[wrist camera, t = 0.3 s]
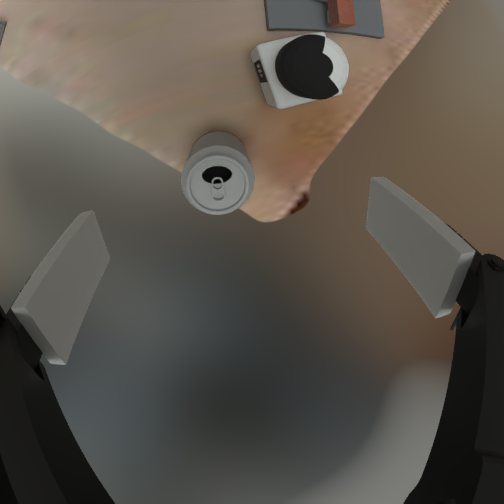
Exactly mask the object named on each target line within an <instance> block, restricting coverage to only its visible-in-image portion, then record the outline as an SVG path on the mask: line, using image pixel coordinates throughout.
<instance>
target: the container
mask: <svg viewBox="0 0 504 504" xmlns="http://www.w3.org/2000/svg"><path fill="white" fill-rule="evenodd" d="M250 56H251V59H252V62H253V65H254V67H255V70H256V73H257V76H258V79H259V82H260V85H261V87H262V90H263V93H264V96H265V99H266V102H267V104H268V105H270V106H272V107H275V108H278V109H284V108H288V107H292V106H295V105H299V104H303V103H307V102H311V101H315V100H320V99H327V98H330V97H333V96H338V95H341V94H342V93H343V90H342V88H343V87H344V86H345V84H346V82H347V79H348V75H349V65H348V61H347V58H346V55H345V54H344V52H343V50H342V49H341V48H340V47H339V46H338V45H337V44H336V43H335V42H334V41H332V40H331V39H329V38H327V37H326V34H325V33H324V32H316V33H309V34H304V35H298V36H293V37H288V38H283V39H278V40H274V41H270V42H265V43H261V44H258V45H257V46H256V47H255V48H254V49H253V51H252V52H251V53H250Z"/></svg>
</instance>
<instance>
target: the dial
mask: <svg viewBox="0 0 504 504" xmlns="http://www.w3.org/2000/svg"><path fill="white" fill-rule="evenodd" d="M315 1H318V2H321V3H325V4H328V11H329V20H330V27H335V28H344V29H346V28H349V27H351V26H354V25H356V23H355V14H354V6H353V0H315Z"/></svg>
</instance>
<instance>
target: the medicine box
mask: <svg viewBox="0 0 504 504" xmlns="http://www.w3.org/2000/svg"><path fill="white" fill-rule="evenodd" d="M5 25H6V22H0V43H1V39H2V36H3V32H4V29H5Z"/></svg>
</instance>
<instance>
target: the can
mask: <svg viewBox="0 0 504 504" xmlns="http://www.w3.org/2000/svg"><path fill="white" fill-rule="evenodd" d="M181 177H182V178H181V186H182V189H183V192H184V195H185V196H186V198H187V199H188V201H189V202H190V204H192V205H193V206H195V207H196V208H197V209H198V210H200V211H203V212H205V213H209V214H214V215H222V214H226V213H230V212H232V211H234V210H236V209H238V208H239V207H241V206H242V205H243V204H244V203H245V202H246V201H247V200H248V199H249V197H250V195H251V193H252V191H253V187H254V180H255V178H254V173H253V168H252V165H251V163H250V160H249V158H248V155H247V153H246V150H245V148H244V146H243V144H242V143H241V141H240V140H239V139H237V138H236V137H235V136H234V135H232V134H229V133H227V132H220V131H215V132H211V133H207V134H205V135H204V136H202V137H200V138H199V139H198V140H197V141H196V143H195V144H194V145H193V147H192V150H191V152H190V154H189V157H188V159H187V161H186V164H185V166H184V169H183V171H182V176H181Z"/></svg>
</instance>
